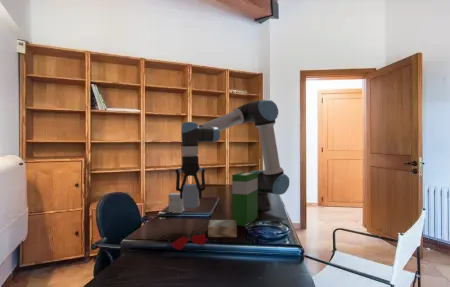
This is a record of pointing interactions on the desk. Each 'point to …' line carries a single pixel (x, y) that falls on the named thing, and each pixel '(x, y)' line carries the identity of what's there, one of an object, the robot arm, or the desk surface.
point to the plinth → (222, 228)
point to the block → (190, 195)
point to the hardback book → (244, 197)
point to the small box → (175, 203)
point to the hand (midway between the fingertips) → (191, 205)
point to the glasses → (182, 241)
